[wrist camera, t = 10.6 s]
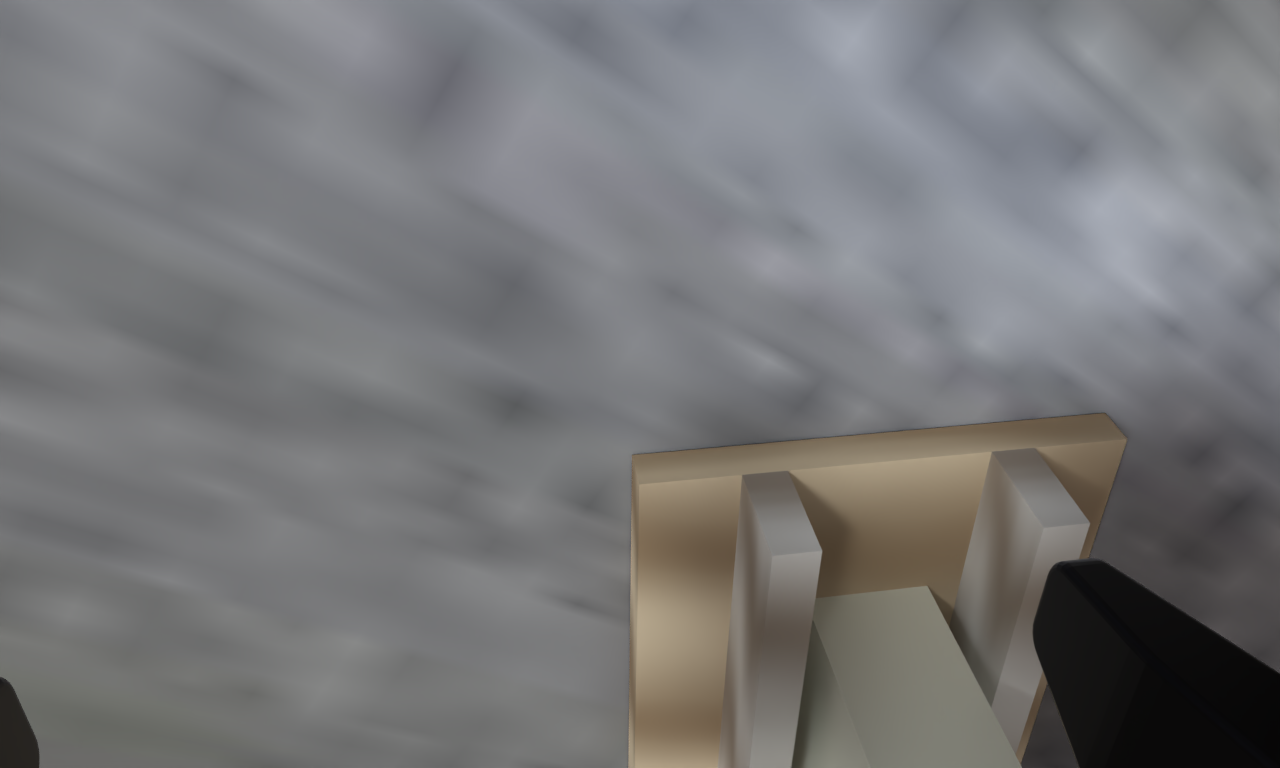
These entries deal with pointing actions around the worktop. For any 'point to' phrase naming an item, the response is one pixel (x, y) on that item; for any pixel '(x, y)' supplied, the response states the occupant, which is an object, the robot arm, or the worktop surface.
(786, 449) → the track base
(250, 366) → the worktop surface
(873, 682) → the door panel
